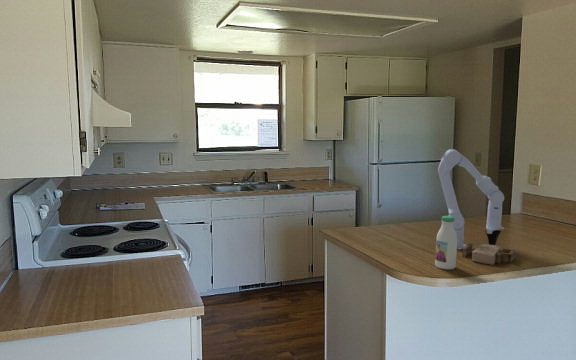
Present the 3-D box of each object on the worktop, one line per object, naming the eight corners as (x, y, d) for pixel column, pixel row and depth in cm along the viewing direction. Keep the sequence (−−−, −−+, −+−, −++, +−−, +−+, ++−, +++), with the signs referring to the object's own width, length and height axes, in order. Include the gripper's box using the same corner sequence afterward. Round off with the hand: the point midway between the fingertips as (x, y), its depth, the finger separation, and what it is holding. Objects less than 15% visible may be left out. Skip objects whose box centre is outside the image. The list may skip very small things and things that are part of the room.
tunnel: (462, 256, 188) (462, 248, 187) (470, 250, 196) (470, 242, 196) (508, 265, 177) (509, 256, 176) (514, 258, 186) (515, 250, 185)
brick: (479, 252, 194) (480, 242, 194) (500, 255, 190) (501, 245, 189) (471, 262, 181) (471, 251, 180) (493, 266, 176) (494, 255, 176)
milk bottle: (450, 263, 178) (453, 214, 175) (458, 270, 170) (462, 218, 168) (431, 263, 178) (434, 214, 175) (439, 270, 170) (441, 218, 168)
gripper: (500, 220, 188) (497, 251, 190) (507, 215, 199) (505, 244, 201) (482, 218, 192) (480, 248, 194) (491, 212, 204) (489, 241, 205)
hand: (492, 246), depth 198 cm, fingers closed
